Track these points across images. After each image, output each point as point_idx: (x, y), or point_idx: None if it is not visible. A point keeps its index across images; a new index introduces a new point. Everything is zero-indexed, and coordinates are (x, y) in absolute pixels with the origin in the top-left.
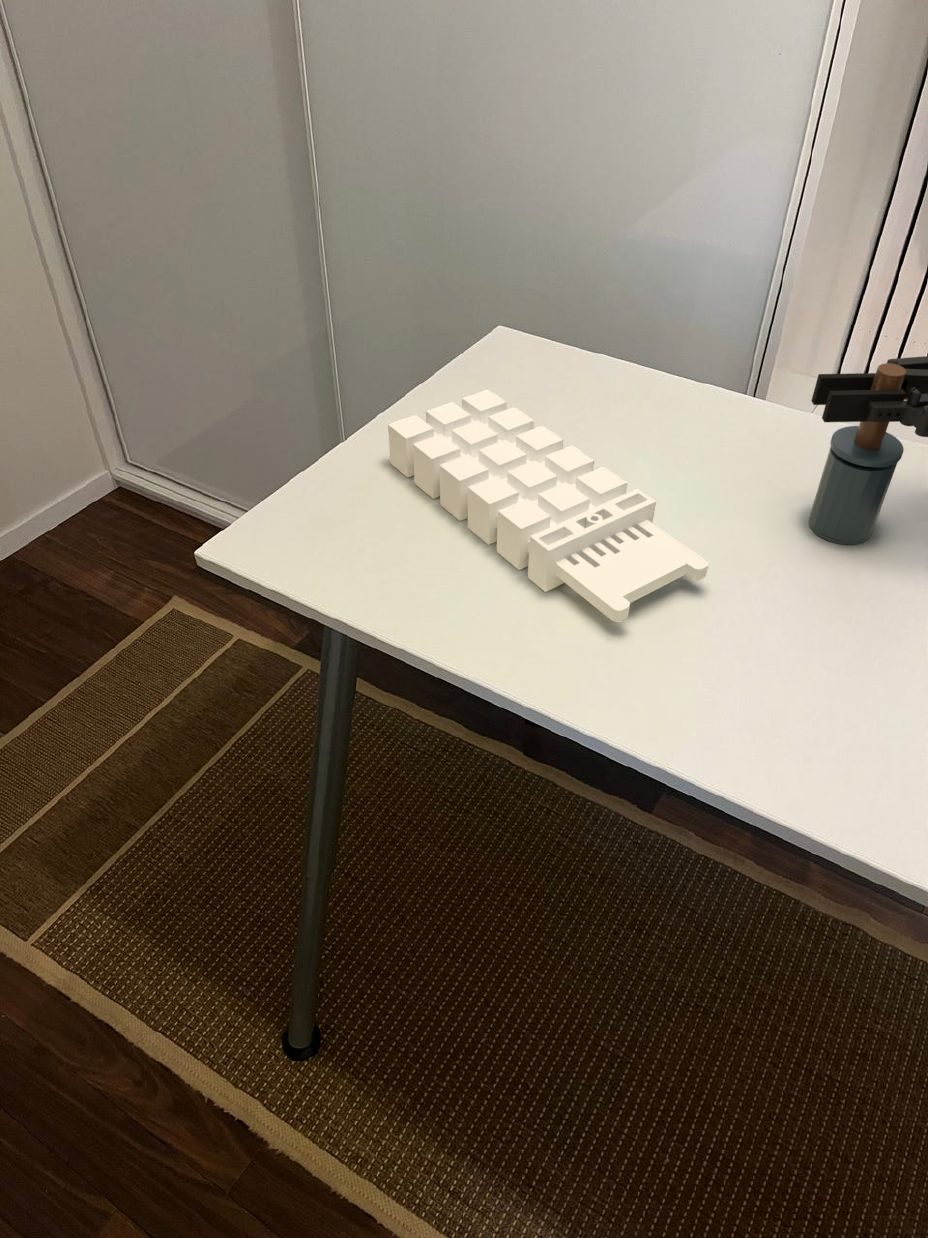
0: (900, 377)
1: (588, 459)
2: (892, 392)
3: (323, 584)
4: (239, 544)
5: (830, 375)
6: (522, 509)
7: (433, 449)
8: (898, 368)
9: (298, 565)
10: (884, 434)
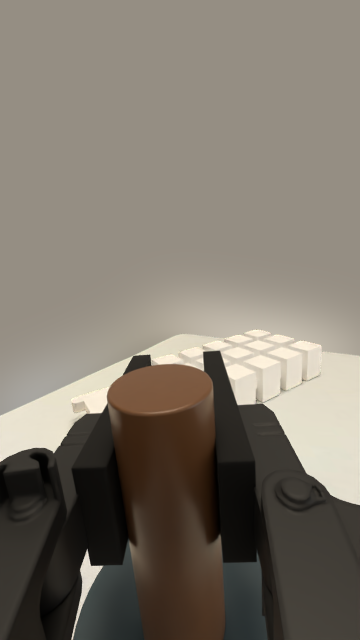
0: (107, 402)
1: (235, 377)
2: (100, 434)
3: (158, 349)
4: (187, 336)
5: (214, 359)
6: (171, 359)
7: (234, 338)
8: (162, 397)
9: (172, 344)
10: (146, 622)
